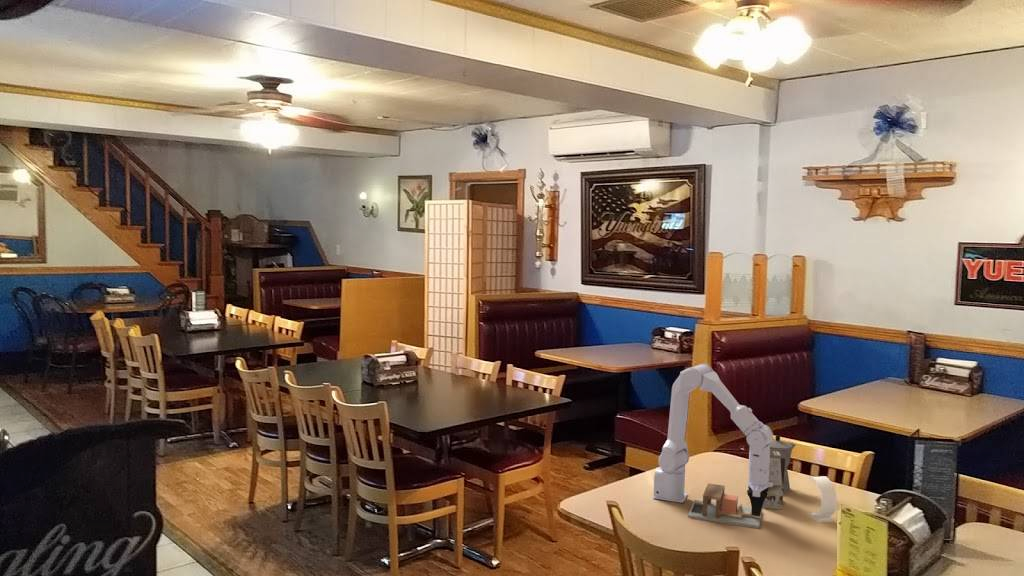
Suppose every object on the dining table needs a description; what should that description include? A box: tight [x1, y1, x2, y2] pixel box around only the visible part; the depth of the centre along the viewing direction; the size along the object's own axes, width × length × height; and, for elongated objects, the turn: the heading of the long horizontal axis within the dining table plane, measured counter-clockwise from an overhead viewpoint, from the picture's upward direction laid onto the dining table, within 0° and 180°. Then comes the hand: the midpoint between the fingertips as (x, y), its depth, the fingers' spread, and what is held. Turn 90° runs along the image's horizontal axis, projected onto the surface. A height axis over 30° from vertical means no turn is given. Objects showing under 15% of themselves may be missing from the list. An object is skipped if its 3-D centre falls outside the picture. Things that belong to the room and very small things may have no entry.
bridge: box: [702, 483, 726, 518], centre depth 225 cm, size 5×11×6 cm, turn 158°
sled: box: [720, 501, 762, 519], centre depth 222 cm, size 12×6×4 cm, turn 68°
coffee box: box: [762, 449, 785, 510], centre depth 233 cm, size 9×6×16 cm
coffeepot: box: [768, 434, 797, 494], centre depth 245 cm, size 15×9×18 cm, turn 103°
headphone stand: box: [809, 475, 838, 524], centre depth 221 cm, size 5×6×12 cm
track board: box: [687, 499, 763, 529], centre depth 224 cm, size 20×13×1 cm, turn 68°
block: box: [722, 493, 739, 514], centre depth 223 cm, size 4×4×4 cm
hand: (756, 512), depth 220 cm, fingers closed on sled, 2 cm apart
